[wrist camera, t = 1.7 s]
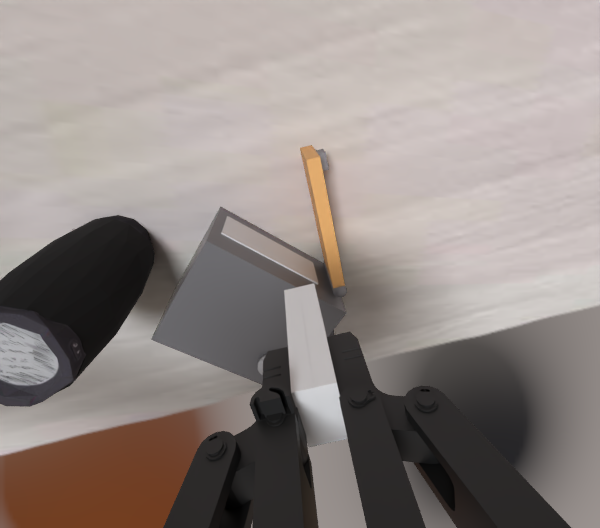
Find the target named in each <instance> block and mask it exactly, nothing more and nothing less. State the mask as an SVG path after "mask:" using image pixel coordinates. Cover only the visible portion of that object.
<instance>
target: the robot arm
mask: <svg viewBox="0 0 600 528" xmlns="http://www.w3.org/2000/svg"><path fill="white" fill-rule="evenodd" d="M284 295H285V309H286V324H287V339H288V347H284V348H280V349H276V350H271V351H268V352H267V354H266V356H265V358H264V360H263V382H262V388H261V389H260V390H258V391H257V392H256V393H255V394H254V395H253V397H252V398H251V402H250V406H251V409H252V411H253V414H254V416H255V419H256V422H255V423H254V424H253V425H252V426H251V427H249V428H248V429H246V430H244V431H242V432H241V433H239V434H237V435H235V436H233V435H232V434H231V433H229V432H225V431H221V432H216V433H214V434H212V435H210V436H208V437H207V438H206V439H205V440H204V441H203V442H202V443H201V445H200V446H199V448H198V450H197V452H196V454H195V456H194V459H193V461H192V463H191V466H190V468H189V470H188V473H187V475H186V477H185V479H184V482H183V484H182V486H181V489H180V491H179V493H178V495H177V498H176V500H175V502H174V504H173V507H172V509H171V511H170V514H169V516H168V518H167V521H166V523H165V525H164V527H163V528H251V524H252V520H253V528H318V520H317V510H316V502H315V493H314V484H313V475H312V466H311V461H310V457H309V454H308V448H307V443H308V446H309V447H313V446H317V445H321V444H326V443H331V442H336V441H340V440H345V439H348V443H349V447H350V452H351V456H352V461H353V465H354V470H355V475H356V479H357V483H358V488H359V493H360V498H361V502H362V507H363V511H364V516H365V521H366V525H367V528H426V527H425V524H424V522H423V518H422V516H421V513H420V510H419V507H418V504H417V501H416V499H415V496H414V493H413V490H412V487H411V484H410V482H409V479H408V476H407V473H406V470H405V467H404V465H403V462H402V461H409V462H414V464H415V466H416V467H417V469H418V470H419V472H420V473H421V475H422V476H423V478H424V479H425V481H426V482H427V484H428V485H429V487H430V488H431V490H432V491H433V493H434V494H435V495H436V497H437V499H438V500H439V502H440V503H441V504H442V506H443V507H444V509H445V510H446V512H447V513H448V515H449V516H450V518H451V519H452V521H453V522H454V524H455V525H456V527H457V528H571V527H570V526H569V525H568V524H567V523H566V522H565V521H564V520H563V519H562V518H561V517H560V515H559V514H558V513H557V512H556V511H555V510H554V509H553V508H552V507H551V506H550V505H549V504H548V503H547V502H546V501H545V500H544V499H543V498H542V497H541V496H540V494H539V493H538V492H537V491H536V490H535V489H534V488H533V487H532V486H531V485H530V484H529V483H528V482H527V481H526V480H525V479H524V478H523V477H522V475H521V474H520V473H519V472H518V471H517V470H516V469H515V468H514V467H513V466H512V465H511V464H510V463H509V462H508V461H507V460H506V459H505V458H504V456H503V455H502V454H501V453H500V452H499V451H498V450H497V449H496V448H495V447H494V446H493V445H492V444H491V443H490V442H489V441H488V440H487V439H486V438H485V436H484V435H483V434H482V433H481V432H480V431H479V430H478V429H477V428H476V427H475V426H474V425H473V424H472V423H471V422H470V421H469V420H468V419H467V418H466V416H465V415H463V413H462V412H461V411H460V410H459V409H458V408H457V407H456V406H455V405H454V404H453V403H452V402H451V401H450V400H449V399H448V398H447V397H446V396H445V394H444V393H442V392H441V391H439V390H438V389H436V388H433V387H430V386H419V387H415V388H413V389H412V390H410V391H409V392H408V393H407V394H406V396H404V397H403V396H392V395H387V394H385V393H382V392H381V391H379V390H378V389H377V388H376V387H375V386H374V384H373V382H372V379H371V377H370V374H369V371H368V368H367V365H366V362H365V359H364V356H363V354H362V351H361V348H360V345H359V342H358V339H357V338H356V337H355V336H354V335H353V334H352V333H350V332H347V333H342V334H338V335H333V336H329V337H327V335H326V331H325V327H324V323H323V318H322V314H321V310H320V306H319V302H318V297H317V293H316V289H315V285H314V283H313V284H309V285H305V286H301V287H296V288H292V289H288V290H284Z"/></svg>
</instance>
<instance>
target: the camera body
mask: <svg viewBox="0 0 600 528" xmlns="http://www.w3.org/2000/svg"><path fill="white" fill-rule="evenodd" d="M313 283H314V285H315V289H316V293H317V297H318V302H319V306H320V310H321V314H322V318H323V323H324V327H325V331H326V335H327V337H329V336H333V335H334V328H335V327H336V326H337V325H338V323H339V322H340V321H341V319H342V318H343V317H344V316H345V314H346V313H347V312H346V310H345V307H344V304H343V301H342V298H341V297H336V296H335V295H334V294H333V290H332V287H331V284H330V281H329V278H328V274H327V271H326V268H325V265H324V263H322V262H320V261H318V260H316V259H315V258H313V257H311V256H309V255H307V254H305V253H304V252H302V251H300V250H298V249H296V248H295V247H293V246H291V245H289V244H287V243H286V242H284V241H282V240H280V239H278V238H276V237H275V236H273V235H271V234H269V233H267V232H266V231H264V230H262V229H260V228H258V227H256V226H255V225H253V224H251V223H249V222H247V221H246V220H244V219H242V218H240V217H238V216H236V215H235V214H233V213H231V212H229V211H227V210H226V209H224V208H222V207H220V209H219V211H218V212H217V214H216V216H215V218H214V220H213V221H212V223H211V225H210V227H209V229H208V230H207V232H206V234H205V236H204V238H203V240H202V241H201V243H200V245H199V247H198V249H197V250H196V252H195V254H194V256H193V258H192V259H191V261H190V263H189V265H188V267H187V268H186V270H185V272H184V274H183V276H182V278H181V279H180V281H179V283H178V285H177V287H176V288H175V291H174V293H173V295H172V297H171V299H170V301H169V303H168V305H167V307H166V309H165V312H164V314H163V316H162V318H161V320H160V322H159V324H158V326H157V328H156V331H155V333H154V335H153V337H152V339H151V340H153V341H156V342H158V343H161V344H163V345H166V346H168V347H171V348H173V349H176V350H178V351H181V352H183V353H186V354H188V355H191V356H193V357H195V358H198V359H200V360H203V361H205V362H208V363H210V364H213V365H215V366H218V367H220V368H223V369H225V370H228V371H230V372H232V373H235V374H237V375H240V376H242V377H245V378H247V379H250V380H252V381H255V382H257V383H260V384H262V382H263V360H264V358H265V356H266V354H267V352H268V351H271V350H276V349H280V348H284V347H288V339H287V324H286V309H285V295H284V290H288V289H292V288H296V287H301V286H305V285H309V284H313Z"/></svg>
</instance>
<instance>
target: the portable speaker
mask: <svg viewBox="0 0 600 528" xmlns="http://www.w3.org/2000/svg"><path fill="white" fill-rule="evenodd" d="M153 263H154V251H153V247H152V243H151V240H150V238H149V235H148V232H147V230H146V229H145V228H144V227H142V226H141V225H140V224H139V223H137V222H136V221H135V220H134V219H130V218H126V217H122V216H118V215H117V216H112V217H104V218H100V219H95V220H93V221H91V222H89V223H87V224H85V225H83V226H81V227H79V228H77V229H75V230H73V231H72V232H70V233H68V234H66V235H64V236H62V237H60V238H58V239H56V240H54V241H53V242H51V243H50V244H48V245H47V246H46V247H44V248H43V249H41V250H40V251H39V252H37V253H36V254H34V255H33V256H32V257H30V258H29V259H27V260H26V261H25V262H23V263H22V264H20V265H19V266H18V267H16V268H15V269H13V270H12V271H11V272H9V273H8V274H7V275H6V276H5V277H4V278H2V279H1V280H0V404H3V405H5V406H32V405H35V404H38V403H40V402H43V401H44V400H46V399H47V398H49V397H50V396H52V395H53V394H55V393H57V392H59V391H61V390H63V389H65V388H67V387H69V386H70V385H71V384H72V383H73V382H74V381H75V380H76V379H77V377H78V376H79V375H80V374H81V373H82V372H83V371H84V370H85V368H86V367H87V366H88V365H89V364H90V363H91V362H92V361H93V360H94V358H95V357H96V356H97V355H98V354H99V353H100V352H101V351H102V349H103V348H104V347H105V346H106V345H107V344H108V343H109V342H110V341H111V339H112V338H113V337H114V336H115V335H116V334H117V332H118V330H119V329H120V327H121V326H122V324H123V323H124V321H125V319H126V318H127V316H128V315H129V313H130V311H131V310H132V308H133V307H134V305H135V304H136V302H137V300H138V299H139V297H140V296H141V294H142V292H143V289H144V287H145V284H146V282H147V279H148V276H149V274H150V271H151V269H152V266H153Z"/></svg>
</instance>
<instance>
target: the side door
mask: <svg viewBox="0 0 600 528" xmlns="http://www.w3.org/2000/svg"><path fill="white" fill-rule="evenodd" d="M300 150H301V155H302V160H303V164H304V169H305V174H306V178H307V183H308V187H309V192H310V197H311V201H312V206H313V211H314V215H315V220H316V225H317V229H318V234H319V238H320V243H321V248H322V252H323V257H324V265H325V268H326V271H327V274H328V278H329V281H330V284H331V287H332V290H333V294H334V295H335V296H336V297H343V296H344V295H345V294H346V293H347V289H346V286H345V283H344V278H343V273H342V268H341V262H340V257H339V252H338V247H337V242H336V237H335V231H334V226H333V221H332V216H331V211H330V206H329V200H328V195H327V190H326V185H325V180H324V174H323V171H325V170H329V168H328V163H327V157H326V152H325V151H324V150H323V149H320V150H316V151H315V149H314V148H313V147H312V145H310V146H306V147H302V148H300Z"/></svg>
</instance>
